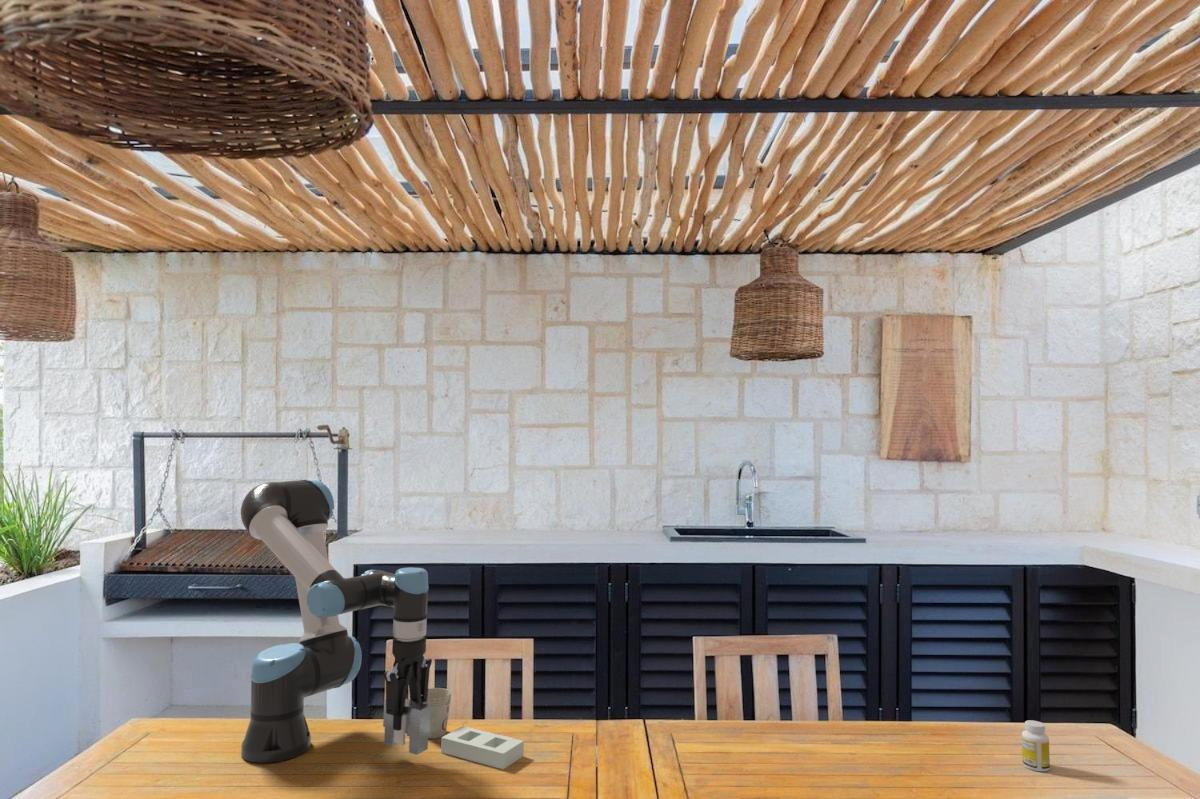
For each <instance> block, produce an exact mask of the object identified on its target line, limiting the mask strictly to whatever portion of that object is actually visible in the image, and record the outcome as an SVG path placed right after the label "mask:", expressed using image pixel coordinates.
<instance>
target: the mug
mask: <svg viewBox="0 0 1200 799" xmlns="http://www.w3.org/2000/svg"><path fill="white" fill-rule="evenodd" d="M421 696H423V695H421ZM451 698H452V691H451V689H447V688H443V687H431V688H428V696H427V701H426V702H423V703H424V704H428V705H431V716H430V732H429V733H428V739H438V738H441V737H443V736H445V735H447V734H446V733H447V728H448V721H449V713H450V707H451V706H450V705H451ZM409 700H410V698H409Z"/></svg>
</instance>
